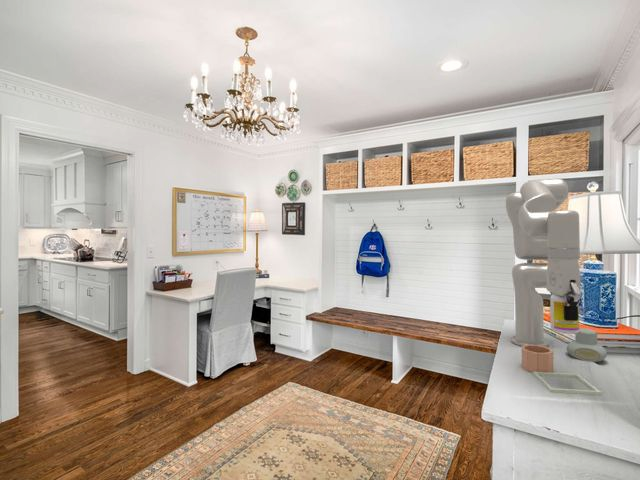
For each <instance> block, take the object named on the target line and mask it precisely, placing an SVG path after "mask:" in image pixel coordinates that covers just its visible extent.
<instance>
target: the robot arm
mask: <svg viewBox="0 0 640 480" xmlns="http://www.w3.org/2000/svg"><path fill="white" fill-rule="evenodd" d="M568 196H569V186H568V184H567V182H566V181H565V180H564V179H562V178H557V177H556V178H544V179H543V178H542V179H538V178H537V179H531V180H528V181H526V182H524V183H523V184H522V185H521V187H520V189H519V191H516V192H512V193H510V194H508V195H507V196H506V199H505V210H506V213H507V216H508V218H509V220H510V223H511V225H512V233H513V234H512V235H513V249H514V254H515V257H516V258H517V259H519V260H525V261H546V262H547V263H546V262H545V263H544V262H542V263H541V262H524V263H523V262H522V263H518V264H515V265H514V266H513V267H512V270H511V277H512V282H513V289H514V290H513V291H514V311H515V312H514V313H515V314H514V317H515V318H514V319H515V335H514V336H512V337H511V343H512V344H515V345H517V346H519V347H520V346H521V347H522V346H524V345H539V346H544V347H547V348H548V347H549V346H550V345H549V341H548V340H546V339H544V336H545V335H544V334H545V333H544V332H545V331H544V330H545V329H544V325H545V324H544V299H543V297H542V295H541V294H540V293H539V292H538V291H537V290H536V289H540V288H541V289H543V288H544V289H546V290H547V292H549V293H550V296H551V295H553V294H556V295H559V296H564V300H565V305H566V306H564V320H566V321H577V320H578V306H579V304H580V299H581V297H582V293H581V289H582V288H581V287H582V286H581V272H580V270H581V269H580V263H579V261H580V260H581V248H580V246H581V245H580V244H581V243H580V239H581V238H580V214H579V212H578V211H576V210H570V209H568V210H557V209H558V208H559V207H560V206H561V205H562V204H563V203H564V202H565V201H566V200H567V198H568ZM567 293H572V294H567ZM568 297H571V298H570V300H569V299H568ZM578 302H579V303H578ZM579 307H580V306H579Z"/></svg>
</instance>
